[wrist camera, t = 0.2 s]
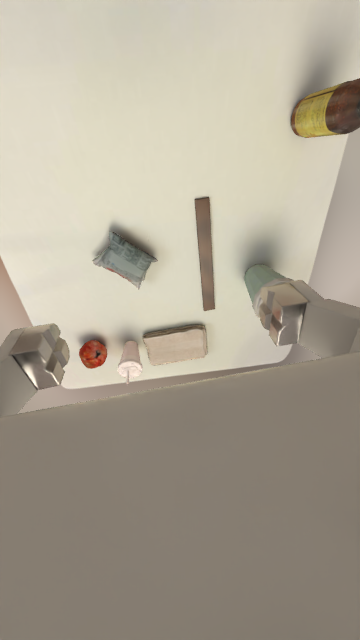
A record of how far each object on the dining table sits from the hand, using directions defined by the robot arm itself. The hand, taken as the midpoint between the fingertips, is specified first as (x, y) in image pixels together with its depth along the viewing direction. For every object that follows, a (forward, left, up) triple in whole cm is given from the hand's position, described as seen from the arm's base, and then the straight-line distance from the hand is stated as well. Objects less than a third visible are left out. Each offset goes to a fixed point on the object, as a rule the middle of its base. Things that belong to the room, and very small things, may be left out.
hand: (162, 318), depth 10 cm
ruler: (+19, +11, -48) cm, 52 cm away
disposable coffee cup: (+25, +23, -48) cm, 59 cm away
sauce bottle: (-6, +31, -48) cm, 57 cm away
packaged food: (+15, -8, -48) cm, 51 cm away
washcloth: (+43, 0, -48) cm, 64 cm away
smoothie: (+41, -13, -48) cm, 64 cm away
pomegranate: (+39, -23, -48) cm, 66 cm away
